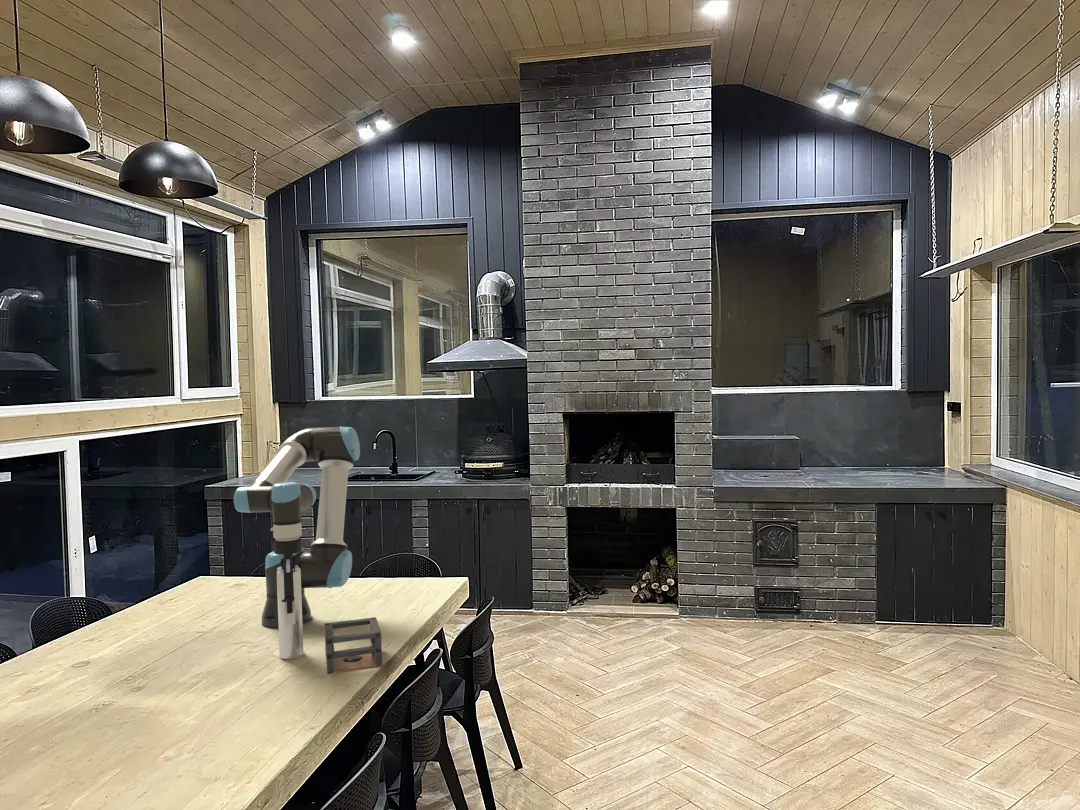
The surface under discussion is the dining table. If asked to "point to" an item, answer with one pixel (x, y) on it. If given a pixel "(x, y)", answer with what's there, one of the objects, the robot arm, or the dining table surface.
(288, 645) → the white tall cylinder
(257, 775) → the dining table surface
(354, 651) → the collar stand
